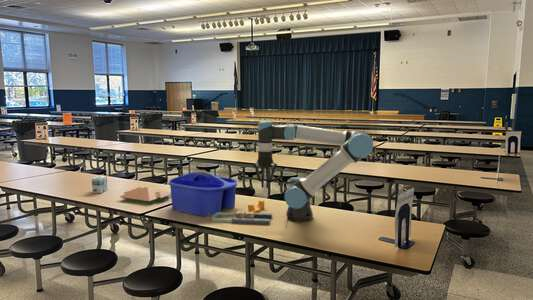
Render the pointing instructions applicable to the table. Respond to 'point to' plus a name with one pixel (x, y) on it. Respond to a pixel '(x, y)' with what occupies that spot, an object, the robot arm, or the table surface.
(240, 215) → the chip
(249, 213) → the chip
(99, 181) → the light bulb box
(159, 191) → the house
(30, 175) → the table surface
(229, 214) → the tray
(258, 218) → the slot rail
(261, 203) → the pipe clamp
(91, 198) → the table surface
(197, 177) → the caddy
